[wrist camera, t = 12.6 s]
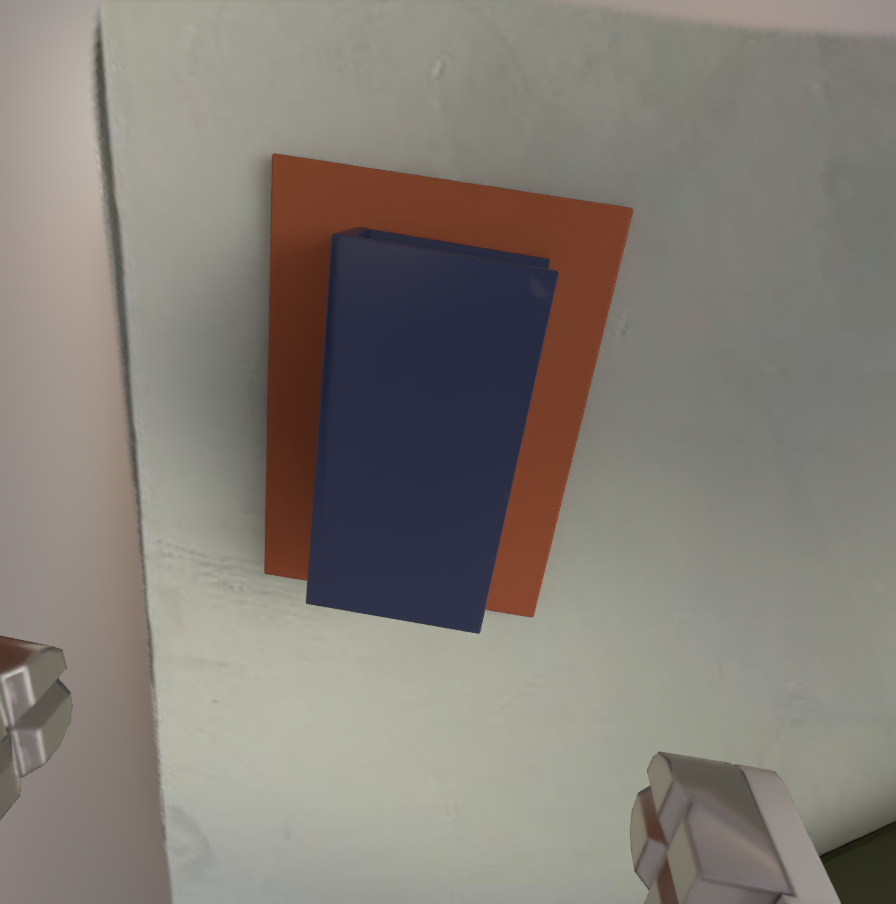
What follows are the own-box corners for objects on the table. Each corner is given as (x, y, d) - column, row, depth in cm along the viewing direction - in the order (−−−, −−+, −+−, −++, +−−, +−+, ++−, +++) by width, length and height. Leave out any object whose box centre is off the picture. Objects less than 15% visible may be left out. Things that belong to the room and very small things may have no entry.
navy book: (357, 226, 17) (330, 233, 14) (549, 258, 17) (559, 272, 14) (330, 551, 22) (305, 603, 19) (482, 577, 21) (479, 634, 19)
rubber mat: (277, 154, 17) (271, 153, 16) (630, 207, 17) (634, 208, 16) (268, 566, 23) (263, 574, 22) (532, 609, 22) (533, 618, 22)
